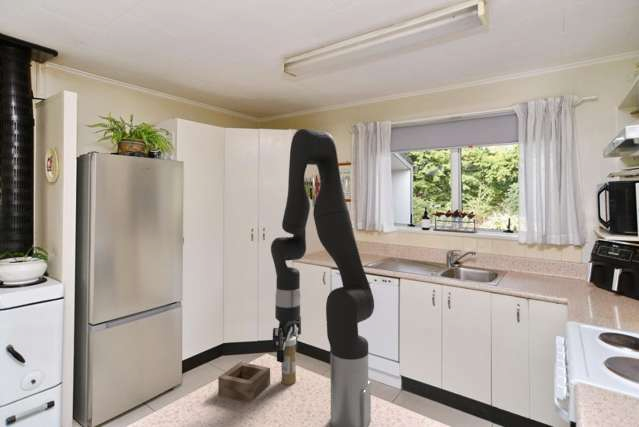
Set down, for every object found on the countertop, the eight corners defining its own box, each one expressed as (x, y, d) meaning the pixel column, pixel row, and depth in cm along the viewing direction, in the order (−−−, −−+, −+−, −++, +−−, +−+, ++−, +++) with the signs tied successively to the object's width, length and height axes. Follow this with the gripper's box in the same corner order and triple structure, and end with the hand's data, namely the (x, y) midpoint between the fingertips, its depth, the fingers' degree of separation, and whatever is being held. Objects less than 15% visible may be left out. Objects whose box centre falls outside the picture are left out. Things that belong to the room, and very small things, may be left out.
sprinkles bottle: (298, 382, 101) (298, 338, 101) (285, 386, 99) (285, 341, 99) (291, 376, 105) (291, 333, 105) (278, 380, 103) (278, 336, 103)
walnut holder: (270, 384, 100) (270, 367, 100) (249, 403, 90) (249, 384, 90) (240, 378, 104) (240, 361, 104) (218, 395, 94) (218, 377, 94)
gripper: (288, 310, 94) (287, 368, 94) (308, 298, 107) (308, 349, 107) (264, 307, 97) (264, 363, 97) (287, 295, 110) (287, 345, 110)
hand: (287, 355), depth 102 cm, fingers open, 8 cm apart
